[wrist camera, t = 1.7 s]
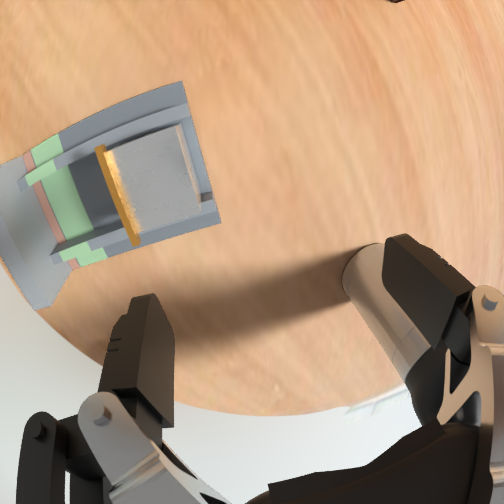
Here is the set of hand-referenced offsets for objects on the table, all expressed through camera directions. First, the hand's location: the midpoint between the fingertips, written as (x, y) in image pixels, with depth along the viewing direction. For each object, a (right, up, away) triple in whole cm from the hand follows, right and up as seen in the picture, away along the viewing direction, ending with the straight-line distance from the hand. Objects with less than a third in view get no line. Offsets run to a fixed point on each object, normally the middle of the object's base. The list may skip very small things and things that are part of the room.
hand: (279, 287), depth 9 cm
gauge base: (-16, +8, +16) cm, 24 cm away
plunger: (-9, +9, +15) cm, 20 cm away
